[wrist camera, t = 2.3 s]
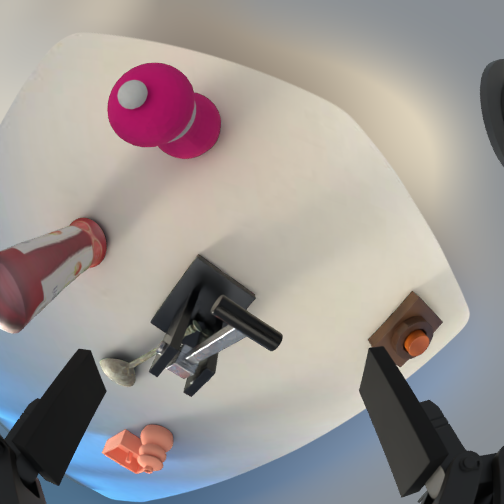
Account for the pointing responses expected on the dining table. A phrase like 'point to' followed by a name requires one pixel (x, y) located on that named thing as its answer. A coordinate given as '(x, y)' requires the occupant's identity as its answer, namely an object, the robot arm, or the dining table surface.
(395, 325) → the button box
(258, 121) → the dining table surface
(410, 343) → the button
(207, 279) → the lever bracket
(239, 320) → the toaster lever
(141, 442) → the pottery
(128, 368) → the soupspoon
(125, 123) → the pepper mill
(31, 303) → the liquor
